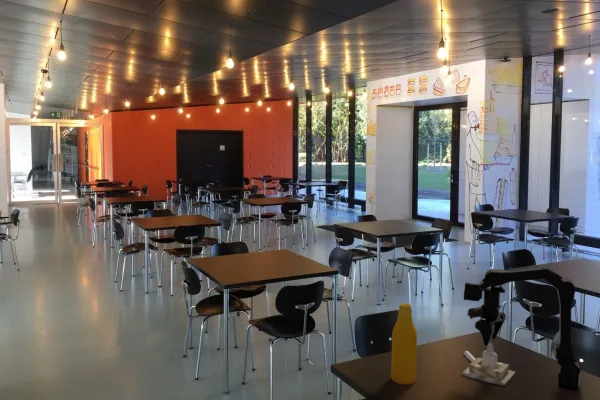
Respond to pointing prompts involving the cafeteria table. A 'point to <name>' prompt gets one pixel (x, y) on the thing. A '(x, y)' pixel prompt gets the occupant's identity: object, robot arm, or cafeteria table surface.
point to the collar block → (489, 372)
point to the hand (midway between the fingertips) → (489, 342)
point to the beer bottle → (404, 347)
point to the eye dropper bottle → (489, 357)
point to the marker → (469, 356)
